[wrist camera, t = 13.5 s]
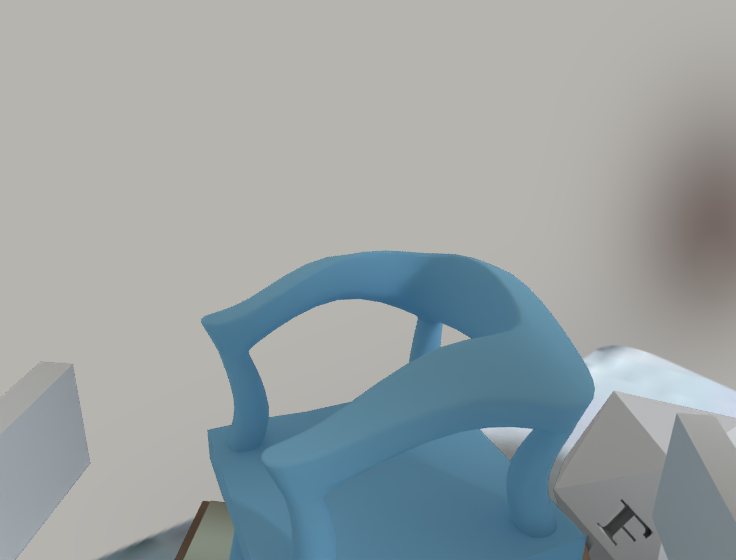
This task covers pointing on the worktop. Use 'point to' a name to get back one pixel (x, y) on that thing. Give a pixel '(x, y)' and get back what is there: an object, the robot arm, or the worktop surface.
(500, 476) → the chair
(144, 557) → the worktop surface
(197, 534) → the base block
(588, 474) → the die
